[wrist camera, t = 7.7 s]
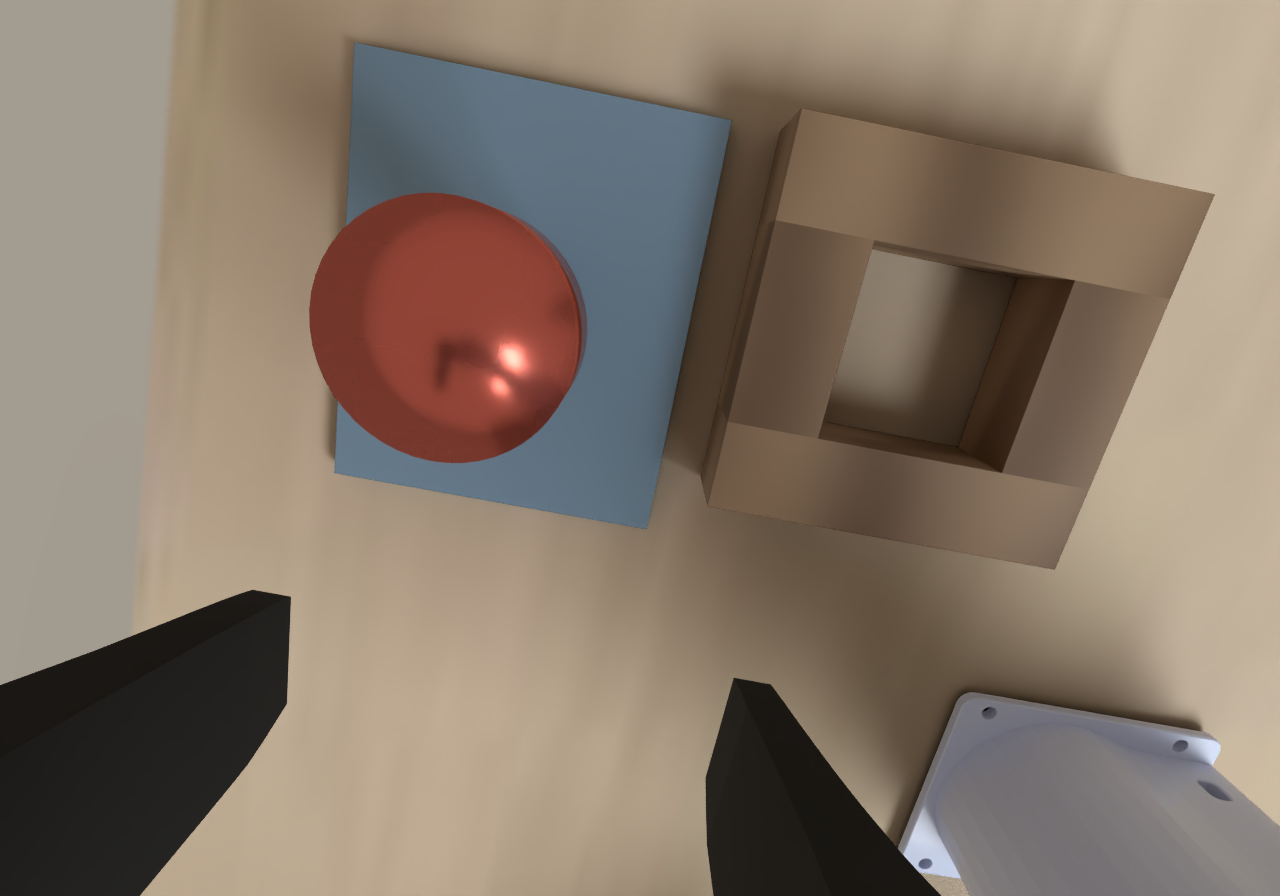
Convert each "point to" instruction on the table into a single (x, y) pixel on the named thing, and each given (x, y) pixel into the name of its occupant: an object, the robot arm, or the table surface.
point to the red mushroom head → (447, 326)
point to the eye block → (1017, 368)
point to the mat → (583, 233)
